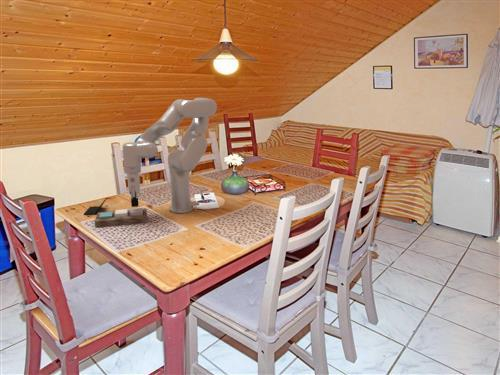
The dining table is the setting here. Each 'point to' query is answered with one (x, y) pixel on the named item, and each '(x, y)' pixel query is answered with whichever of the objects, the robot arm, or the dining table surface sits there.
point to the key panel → (121, 220)
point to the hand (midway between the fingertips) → (135, 206)
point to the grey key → (136, 212)
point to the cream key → (121, 213)
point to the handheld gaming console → (94, 209)
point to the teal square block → (106, 215)
